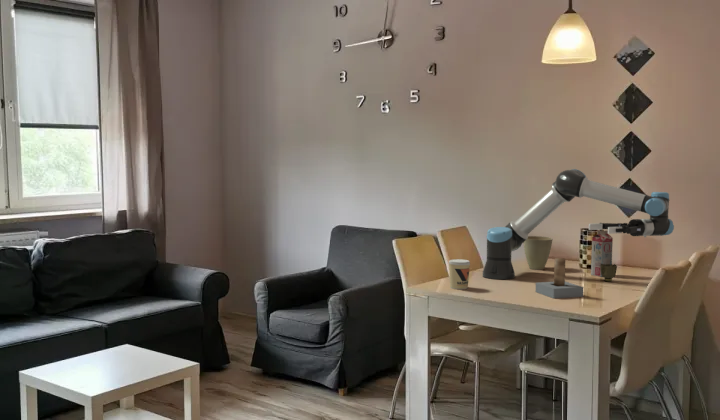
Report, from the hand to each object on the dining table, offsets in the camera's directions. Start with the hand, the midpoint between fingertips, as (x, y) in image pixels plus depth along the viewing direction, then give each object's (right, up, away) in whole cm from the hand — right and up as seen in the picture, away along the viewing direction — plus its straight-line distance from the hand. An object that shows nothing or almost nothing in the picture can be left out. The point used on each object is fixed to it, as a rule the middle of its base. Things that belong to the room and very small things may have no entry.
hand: (598, 228), depth 302 cm
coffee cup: (-60, -26, +6) cm, 66 cm away
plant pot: (-12, -22, +59) cm, 64 cm away
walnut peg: (-19, -27, -7) cm, 34 cm away
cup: (+12, -25, +23) cm, 37 cm away
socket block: (-19, -28, -7) cm, 34 cm away
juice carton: (+15, -24, +39) cm, 49 cm away
